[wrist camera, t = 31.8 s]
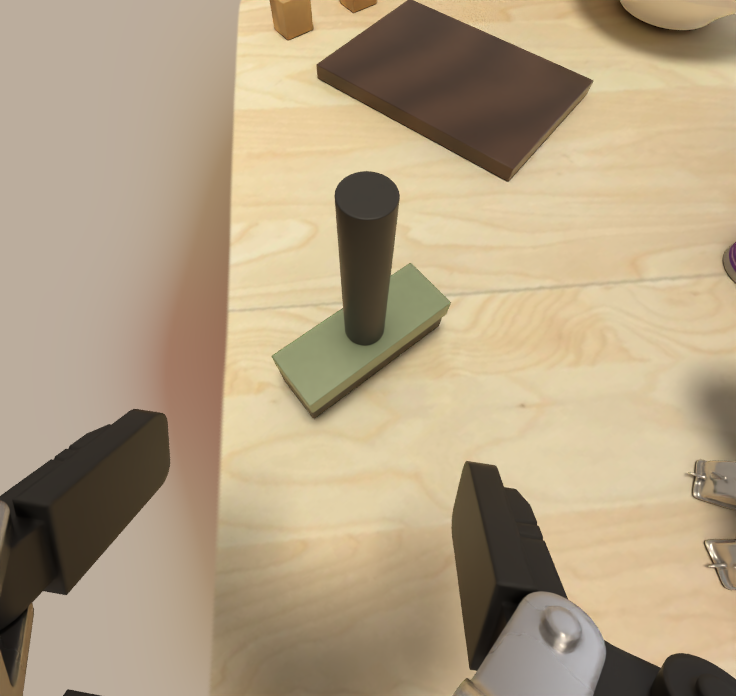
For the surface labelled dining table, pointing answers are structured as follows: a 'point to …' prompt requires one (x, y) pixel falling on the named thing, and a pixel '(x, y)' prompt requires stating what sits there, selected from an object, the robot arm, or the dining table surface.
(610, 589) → the dining table surface
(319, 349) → the brush
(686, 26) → the bowl
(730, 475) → the robot toy
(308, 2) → the crumb
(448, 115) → the tray
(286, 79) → the dining table surface
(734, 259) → the container
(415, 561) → the dining table surface
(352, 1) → the crumb
